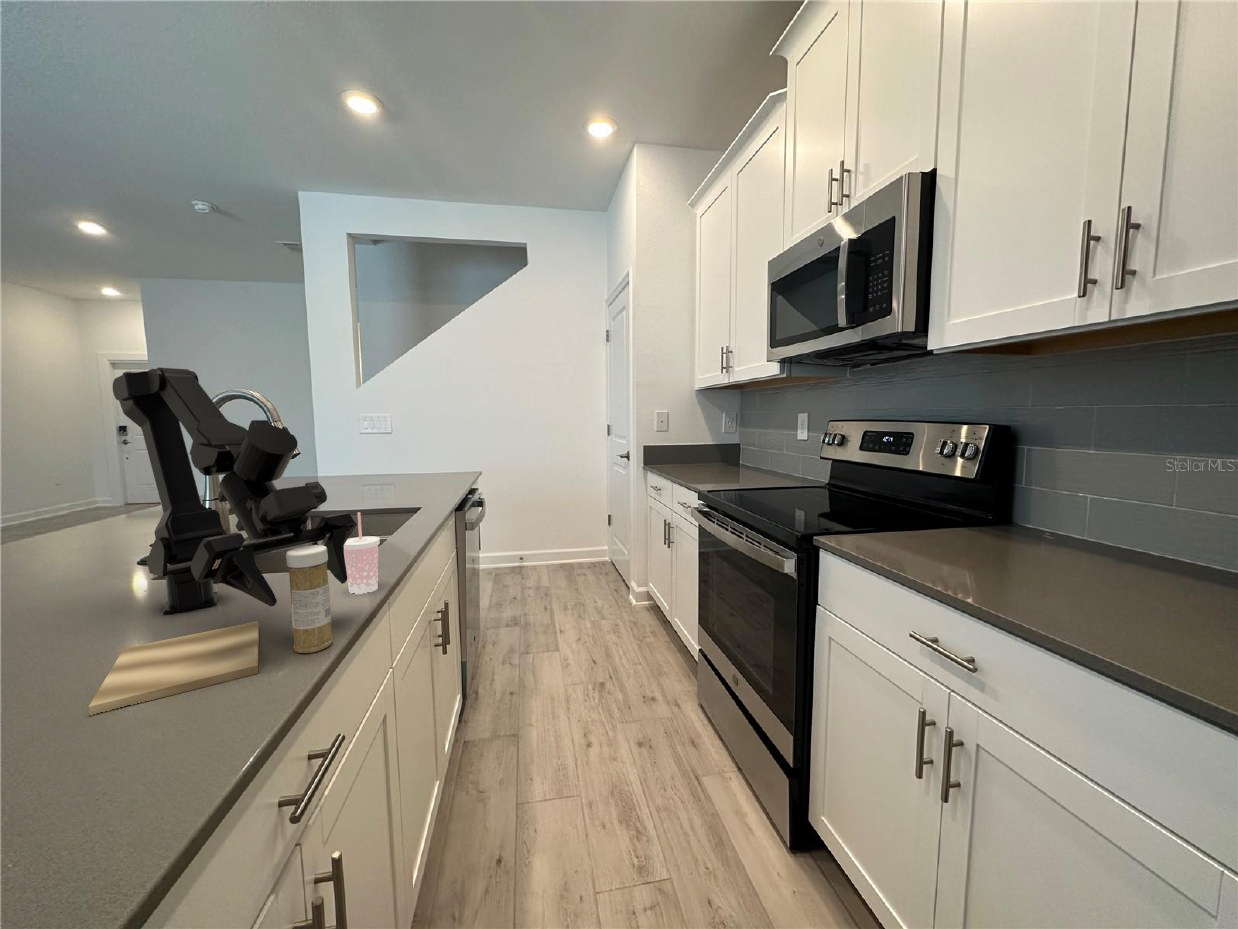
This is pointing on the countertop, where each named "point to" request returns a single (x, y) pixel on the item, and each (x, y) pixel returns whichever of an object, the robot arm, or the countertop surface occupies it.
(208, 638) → the oak board
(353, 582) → the beverage cup
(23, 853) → the countertop surface
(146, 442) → the robot arm
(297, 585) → the sprinkles bottle
